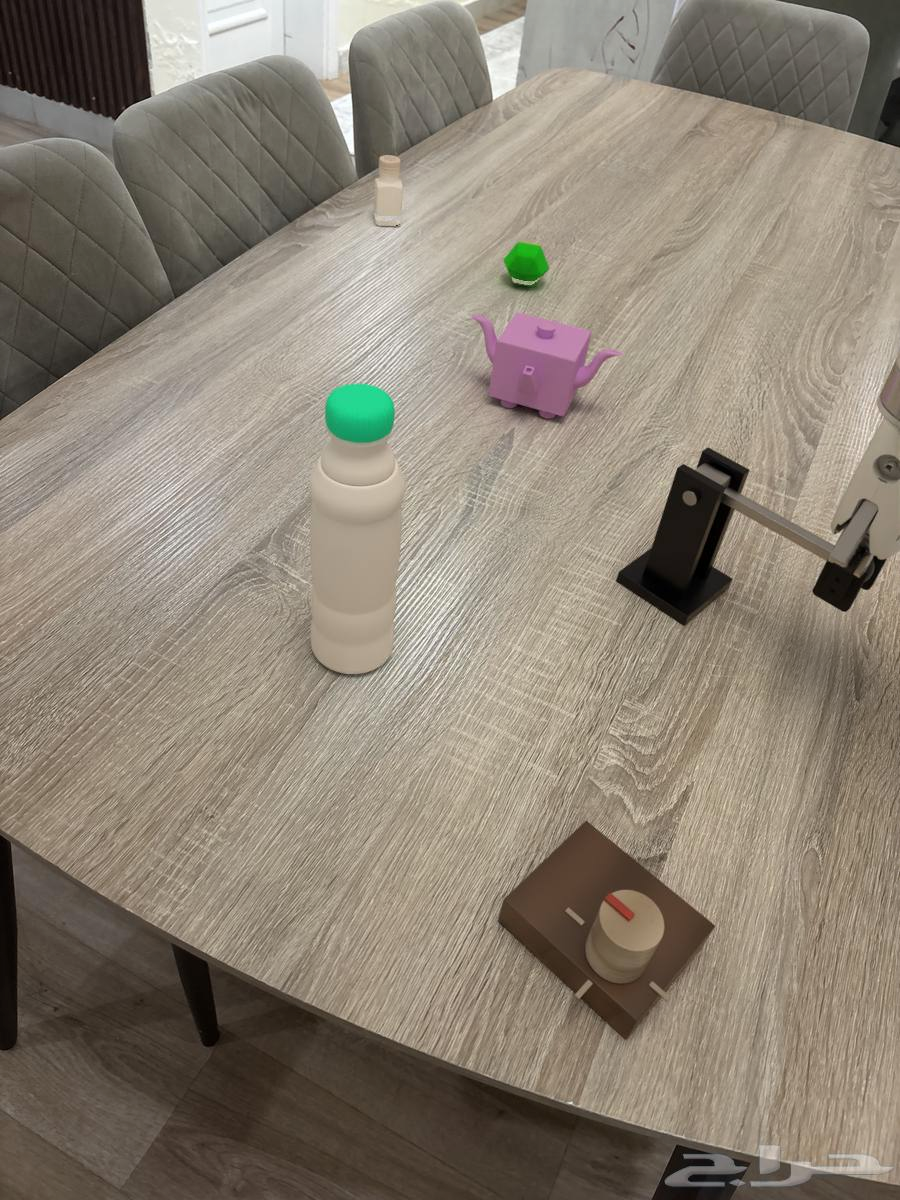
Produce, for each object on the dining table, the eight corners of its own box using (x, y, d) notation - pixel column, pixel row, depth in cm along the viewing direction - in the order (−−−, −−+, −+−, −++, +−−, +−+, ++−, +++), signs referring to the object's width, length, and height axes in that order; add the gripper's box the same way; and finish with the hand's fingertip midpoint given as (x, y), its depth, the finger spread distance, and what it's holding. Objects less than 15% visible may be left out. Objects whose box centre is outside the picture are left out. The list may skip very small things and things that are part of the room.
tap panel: (710, 952, 64) (724, 930, 62) (618, 1066, 58) (630, 1046, 56) (578, 842, 69) (586, 818, 67) (481, 936, 63) (487, 913, 61)
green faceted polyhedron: (529, 242, 128) (537, 217, 134) (491, 265, 131) (501, 239, 138) (556, 285, 131) (563, 258, 138) (518, 307, 135) (527, 280, 141)
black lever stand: (729, 587, 92) (776, 473, 82) (684, 625, 87) (728, 509, 78) (662, 546, 95) (700, 431, 86) (615, 580, 91) (650, 464, 81)
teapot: (442, 408, 110) (451, 332, 103) (478, 358, 119) (488, 284, 112) (591, 450, 106) (609, 374, 100) (616, 395, 116) (634, 322, 109)
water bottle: (378, 611, 84) (392, 364, 67) (404, 668, 80) (426, 418, 63) (301, 627, 82) (296, 375, 65) (323, 686, 78) (324, 432, 60)
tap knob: (659, 954, 60) (678, 918, 57) (622, 997, 58) (640, 962, 55) (609, 912, 62) (626, 874, 59) (572, 952, 60) (587, 915, 57)
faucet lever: (872, 581, 78) (887, 552, 75) (854, 599, 76) (870, 569, 74) (699, 485, 85) (709, 456, 83) (680, 499, 84) (689, 469, 81)
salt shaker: (401, 228, 145) (404, 164, 139) (375, 227, 145) (377, 163, 138) (398, 217, 148) (401, 154, 142) (373, 216, 147) (375, 153, 141)
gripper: (944, 466, 59) (836, 663, 72) (1033, 384, 69) (923, 572, 81) (837, 414, 63) (751, 611, 75) (935, 343, 72) (845, 529, 85)
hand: (841, 589), depth 78 cm, fingers closed on faucet lever, 3 cm apart
